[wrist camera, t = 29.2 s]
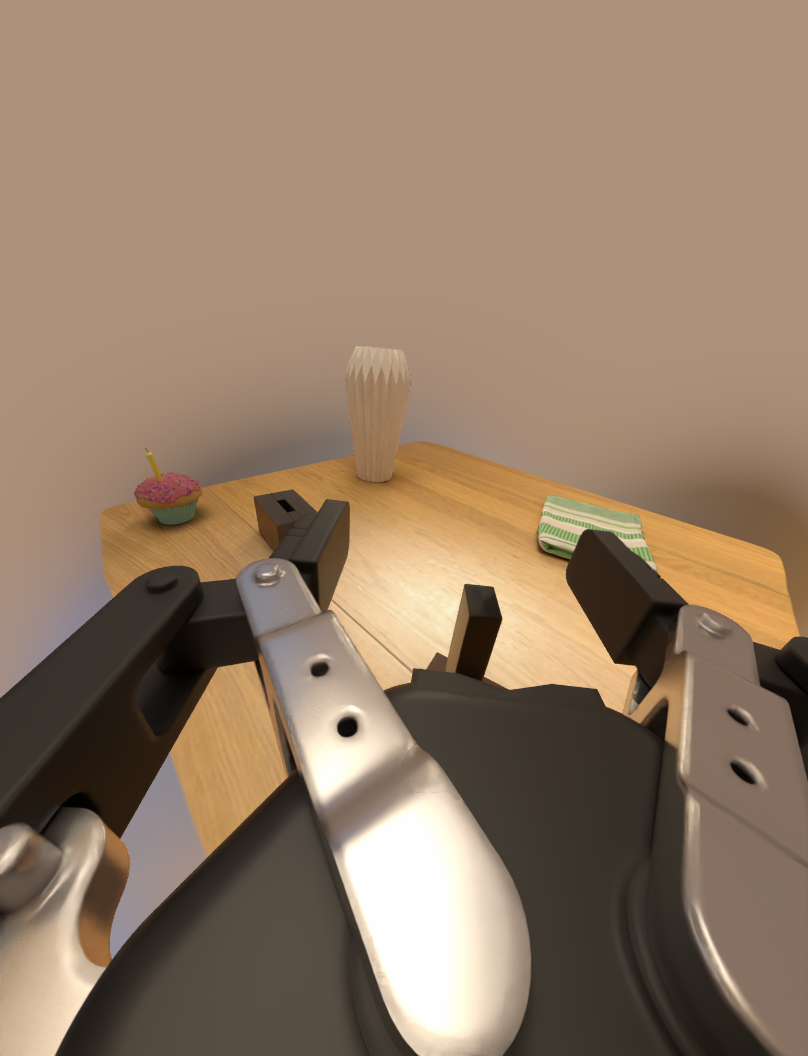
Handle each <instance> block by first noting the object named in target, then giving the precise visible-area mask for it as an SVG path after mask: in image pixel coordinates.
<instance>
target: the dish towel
mask: <svg viewBox="0 0 808 1056" xmlns="http://www.w3.org/2000/svg"><path fill="white" fill-rule="evenodd" d="M586 529H593V530H602V531H611V532H613V533H614V534H615V535H616V536H617V537H618V538H619V539H620V540H621V541H622V542H623V543H624V544H625V545H626V546H627V547H628V548H629V549H630V550H631V551H632V552H634V553H635V554H637V555H639V556H640V557H642V558H643V559H644V560H645V561H646V562H647V563H648V564H649V565H650V566H651V567H652V570H655V571H656V572H657V566H656V564H655V562H654V559H653V556H652V554H651V551H650V550H649V548H648V546H647V545H646V543H645V539H644V537H643V535H642V521H641V520H640V517H639V515H637V514H632V513H623V512H618V511H614V510H609V509H606V508H602V507H599V506H595V505H591V504H587V503H583V502H578V501H574V500H571V499H568V498H563V497H557V496H548V497H546V499H545V503H544V506H543V510H542V514H541V519H540V523H539V526H538V531H537V535H538V543H539V545H540V547H541V548H542V549H543V550H544V551H546V552H548V553H551V554H554V555H557V556H561V557H563V558H567V559H571V556H572V554H573V552H574V549H575V547H576V545H577V543H578V540H579V538H580V536H581V534H582V532H583V531H584V530H586Z"/></svg>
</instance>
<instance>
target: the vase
mask: <svg viewBox="0 0 808 1056" xmlns="http://www.w3.org/2000/svg"><path fill="white" fill-rule="evenodd" d="M345 382H346V390H347V398H348V406H349V415H350V423H351V431H352V440H353V447H354V456H355V464H356V472H357V477H359V479H362V481H365V480H366V481H367V482H370V481H371V482H372V483H373V482H377V483H379V482H384V481H388V480H390V479H391V478H392V473H393V468H394V464H395V459H396V454H397V449H398V444H399V440H400V435H401V430H402V425H403V420H404V416H405V411H406V406H407V401H408V396H409V391H410V386H411V381H410V375H409V368H408V364H407V362H406V359H405V356H404V353H403V351H402V350H397V349H387V348H377V347H366V346H357V347H356V348H355V350H354V352H353V354H352V356H351V358H350V360H349V363H348V368H347V372H346V378H345Z"/></svg>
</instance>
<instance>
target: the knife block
mask: <svg viewBox="0 0 808 1056" xmlns="http://www.w3.org/2000/svg"><path fill="white" fill-rule="evenodd" d="M254 502H255V508H256V514H257V521H258V527H259V531H260V533H261V534H262V536H263V537H264V539H265V540H266V541H267V543H268V544H269V546H270V547H271V549H272V550H273V551H274V550H275V549H276V548H277V546H278V545H279V544H280V542H281V541H282V539H283V538H284V537H285V536H286V535H287V533H288V531H289V530H290V529H292V526H293V524H294V523H295V522H296V520H297V519H298V518H299V517H301V516H303V515H305V514H306V513H308V512H317V511H316V510H314V509H313V508H312V507H311V506H310V505H309V504H308V503H307V502H306V501H305V500H304V499H303V498H302V497H301V496H300V495H299V494H297V493H296V492H295V491H294V490H287V491H282V492H276V493H270V494H265V495H260V496H254ZM317 513H318V512H317Z"/></svg>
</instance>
